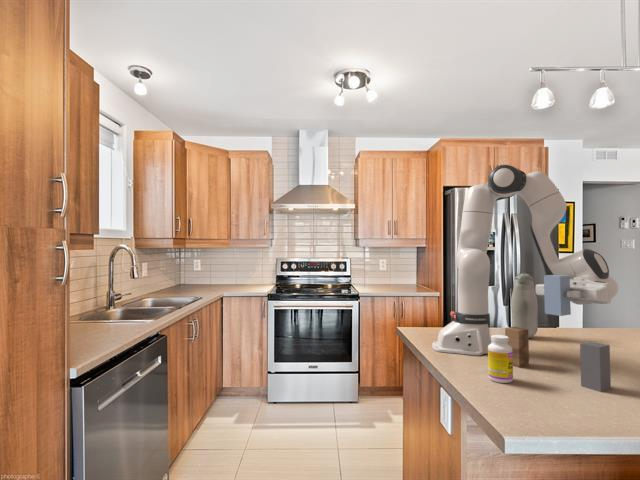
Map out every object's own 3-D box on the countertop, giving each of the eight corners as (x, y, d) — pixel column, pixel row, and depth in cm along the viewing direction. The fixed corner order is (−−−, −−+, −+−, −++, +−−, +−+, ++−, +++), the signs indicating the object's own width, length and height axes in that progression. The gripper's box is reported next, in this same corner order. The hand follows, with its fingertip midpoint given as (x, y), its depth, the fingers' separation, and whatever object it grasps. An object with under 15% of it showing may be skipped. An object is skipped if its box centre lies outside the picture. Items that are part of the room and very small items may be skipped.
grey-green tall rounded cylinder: (508, 334, 172) (507, 272, 173) (532, 335, 171) (531, 272, 172) (516, 340, 162) (515, 274, 163) (542, 340, 161) (540, 274, 162)
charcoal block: (600, 391, 103) (599, 347, 104) (581, 386, 108) (580, 343, 108) (610, 388, 106) (609, 345, 106) (591, 383, 110) (590, 341, 110)
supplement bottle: (511, 385, 109) (511, 340, 109) (486, 381, 112) (485, 337, 113) (514, 378, 114) (513, 335, 115) (490, 374, 118) (489, 333, 118)
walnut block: (519, 367, 125) (518, 330, 125) (505, 363, 129) (505, 328, 130) (529, 365, 127) (528, 329, 127) (515, 361, 132) (514, 326, 132)
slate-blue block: (560, 315, 116) (559, 276, 116) (544, 313, 120) (543, 275, 121) (570, 314, 118) (569, 275, 119) (554, 312, 123) (553, 274, 123)
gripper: (549, 279, 135) (524, 280, 128) (615, 283, 116) (590, 285, 110) (549, 296, 135) (524, 299, 128) (616, 304, 116) (590, 307, 110)
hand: (555, 293), depth 119 cm, fingers closed on slate-blue block, 5 cm apart
